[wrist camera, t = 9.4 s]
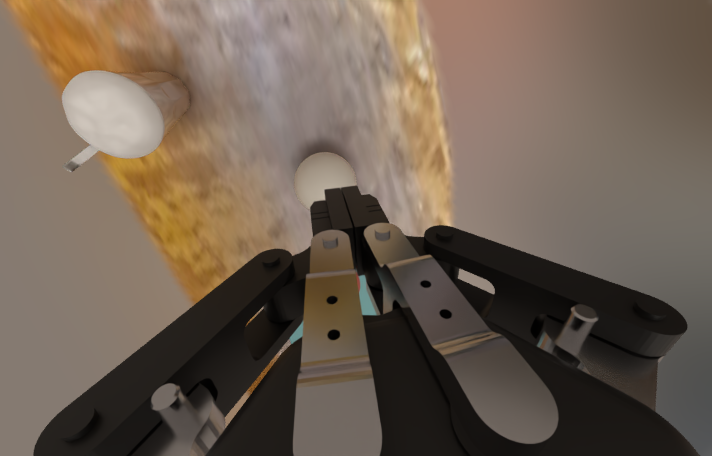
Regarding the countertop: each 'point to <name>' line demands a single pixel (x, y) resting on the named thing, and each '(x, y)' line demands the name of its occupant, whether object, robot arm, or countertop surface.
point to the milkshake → (123, 111)
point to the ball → (321, 176)
